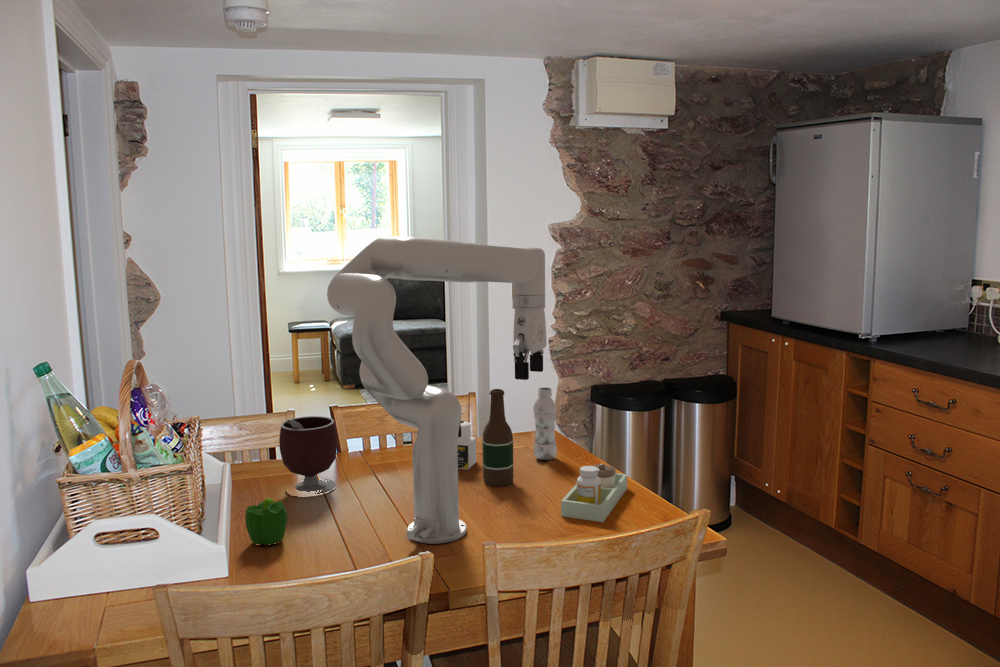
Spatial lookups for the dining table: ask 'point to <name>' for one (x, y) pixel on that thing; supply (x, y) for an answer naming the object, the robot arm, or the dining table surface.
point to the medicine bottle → (466, 446)
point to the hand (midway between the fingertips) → (529, 375)
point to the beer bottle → (497, 444)
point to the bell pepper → (266, 522)
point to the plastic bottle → (544, 425)
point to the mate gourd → (309, 450)
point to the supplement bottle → (589, 486)
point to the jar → (606, 475)
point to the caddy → (594, 510)
